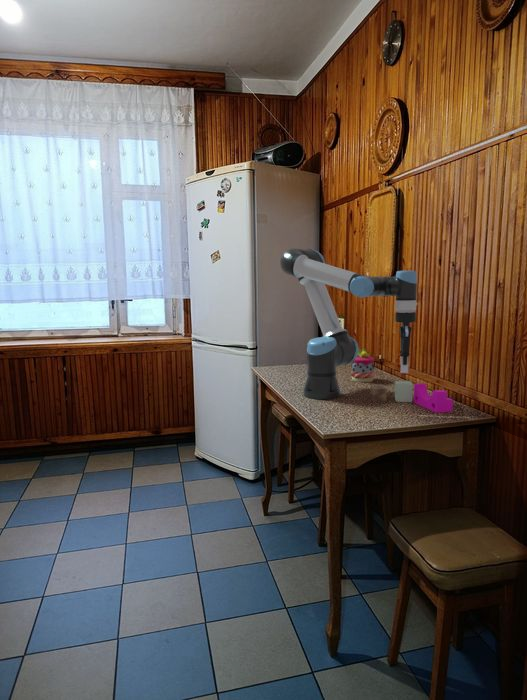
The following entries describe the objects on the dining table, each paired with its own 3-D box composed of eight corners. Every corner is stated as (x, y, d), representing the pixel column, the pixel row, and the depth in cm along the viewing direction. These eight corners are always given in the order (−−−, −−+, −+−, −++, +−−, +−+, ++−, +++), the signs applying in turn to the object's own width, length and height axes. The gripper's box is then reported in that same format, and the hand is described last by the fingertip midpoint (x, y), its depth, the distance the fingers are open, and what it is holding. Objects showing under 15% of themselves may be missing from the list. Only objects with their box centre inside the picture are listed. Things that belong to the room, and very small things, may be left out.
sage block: (395, 401, 180) (396, 383, 179) (394, 398, 186) (395, 380, 185) (412, 402, 179) (412, 384, 178) (410, 398, 185) (410, 381, 184)
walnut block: (373, 401, 181) (373, 388, 180) (370, 398, 186) (370, 386, 185) (386, 401, 181) (386, 388, 180) (383, 398, 186) (383, 386, 185)
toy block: (452, 411, 165) (453, 391, 164) (436, 413, 164) (437, 392, 163) (428, 401, 180) (429, 382, 179) (413, 402, 179) (414, 383, 178)
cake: (378, 382, 216) (379, 350, 214) (360, 384, 211) (360, 351, 209) (364, 378, 225) (365, 347, 223) (346, 380, 221) (346, 348, 219)
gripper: (418, 312, 171) (416, 376, 174) (413, 310, 183) (412, 369, 187) (397, 312, 172) (395, 375, 175) (394, 310, 185) (392, 369, 188)
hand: (404, 372), depth 181 cm, fingers closed
